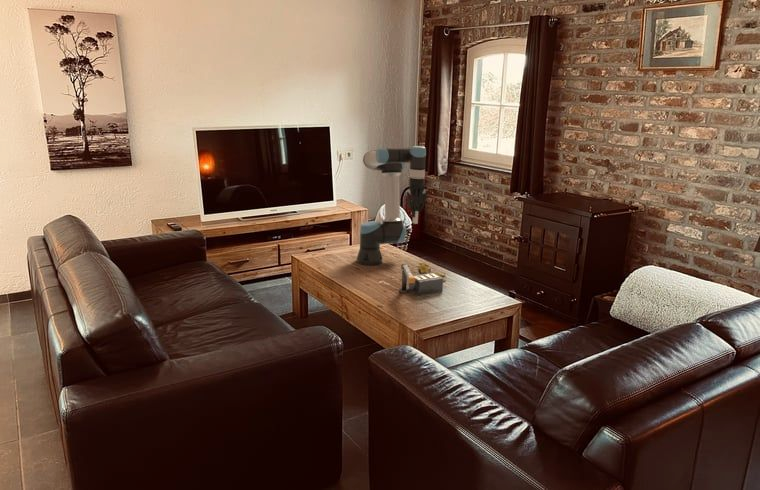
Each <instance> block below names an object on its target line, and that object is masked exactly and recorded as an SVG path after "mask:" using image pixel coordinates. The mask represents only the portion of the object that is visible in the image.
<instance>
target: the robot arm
mask: <svg viewBox="0 0 760 490" xmlns="http://www.w3.org/2000/svg"><path fill="white" fill-rule="evenodd" d="M426 157H427V148H426V147H425V146H421V145H413V146H410V147H402V148H400V147H399V148H398V147H396V148H395V147H394V148H393V147H392V148H391V147H390V148H388V147H386V148H385V147H383V148H382V147H381V148H377V149H373V150H369V151H367V152H366V153H365V154H364V156H363V159H362V162H363V165H364V166H365V168H367V169H369V170H372V171H380V172H381V175H382V176H383V178H384V182H383V183H384V218H383V220H382V223H381V222H380V221H377V220H371V221H365V222H363V223H362V224H361V225H360V228H359V249H358V253H357V256H356V263H358V264H360V265H364V266H376V265H377V266H378V265H380V264H382V263H383V255H382V252H381V245H386V244H387V245H389V244H390V245H391V244H395V245H397V244H401V243H403V242H404V241H405V239H406V235H407V225H406V223H404V221H403V219H402V218H401V213H400V212H401V211H400V208H401V207H400V203H401V202H400V176H401V174H402V171H404V170H405V167H406V164H410V165H409V177H410V178H409V182H408V183H409V188H408V190H407V191H404V194H405V195H404V196H405V197H406V202H407V208H408V210H409V211H411V217H412V224H415V225H416V224H417V225H418V223H419V222H418V221H419V217H420V212H421V211H422V210H423V209H424V206H425V203H426V199H427V195H428V194H429V191H428V190H426V188H425V177H426Z"/></svg>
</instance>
